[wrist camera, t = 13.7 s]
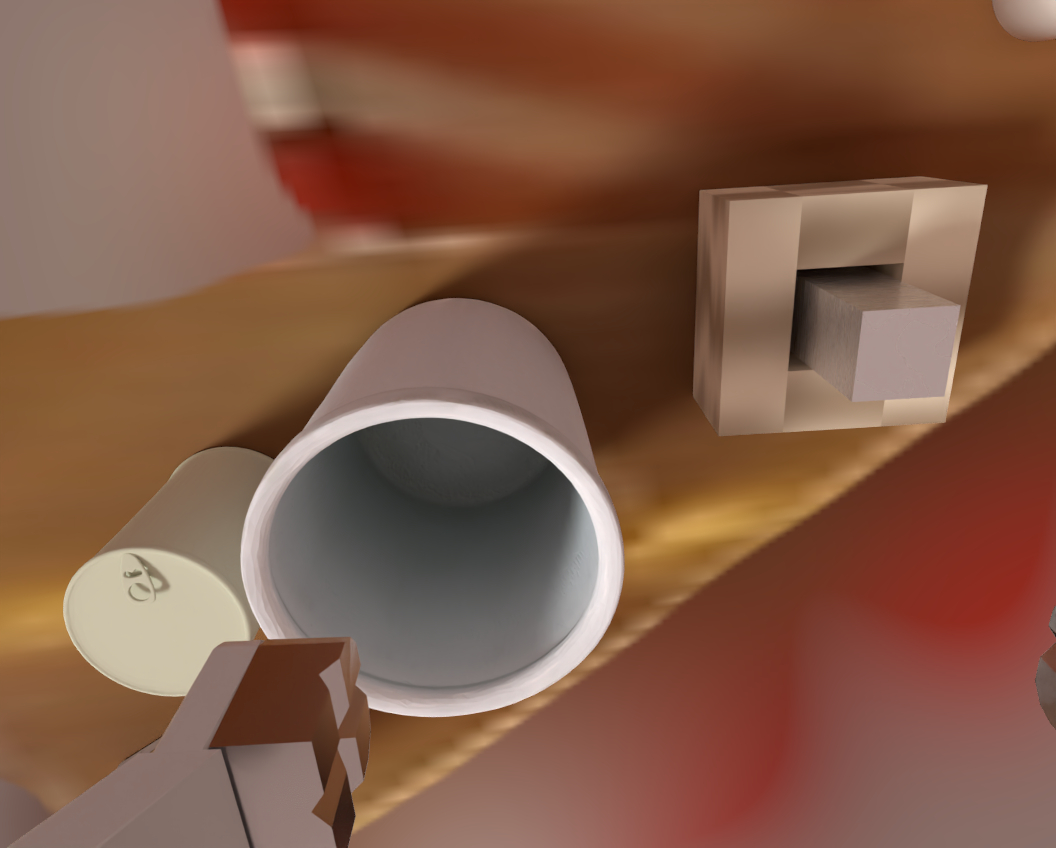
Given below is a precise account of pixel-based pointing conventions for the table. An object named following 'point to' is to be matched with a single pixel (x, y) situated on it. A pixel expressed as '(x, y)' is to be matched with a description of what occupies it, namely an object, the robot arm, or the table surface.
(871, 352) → the square bar
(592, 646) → the utensil holder
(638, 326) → the table surface
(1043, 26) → the white rounded block
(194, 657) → the can
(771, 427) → the socket block
